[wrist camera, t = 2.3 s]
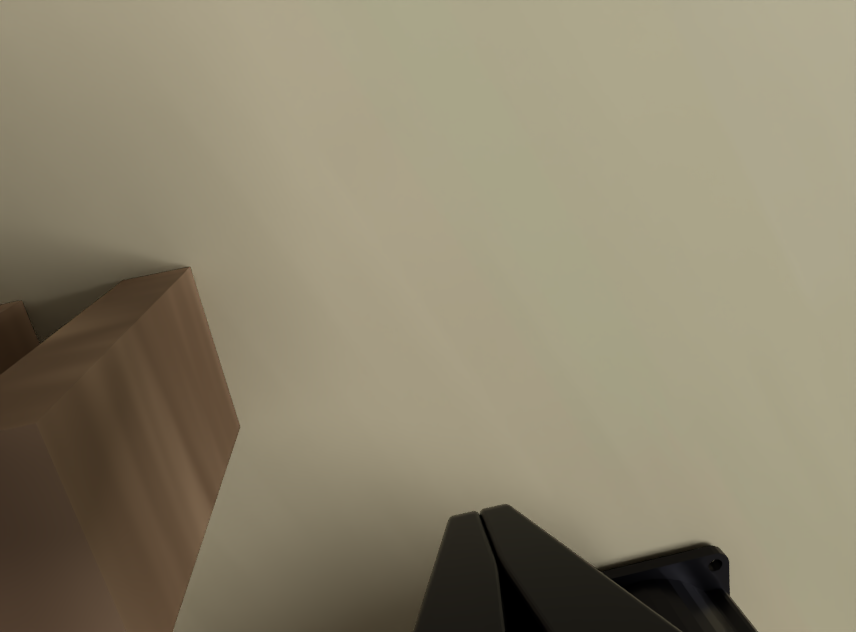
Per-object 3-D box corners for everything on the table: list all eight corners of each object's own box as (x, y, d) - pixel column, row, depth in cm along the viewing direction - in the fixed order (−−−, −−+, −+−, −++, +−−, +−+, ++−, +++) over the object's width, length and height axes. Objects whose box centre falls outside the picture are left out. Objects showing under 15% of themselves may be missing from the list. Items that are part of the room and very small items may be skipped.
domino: (190, 266, 17) (35, 423, 9) (240, 427, 19) (152, 691, 10) (123, 280, 17) (-101, 452, 8) (179, 439, 19) (40, 718, 10)
